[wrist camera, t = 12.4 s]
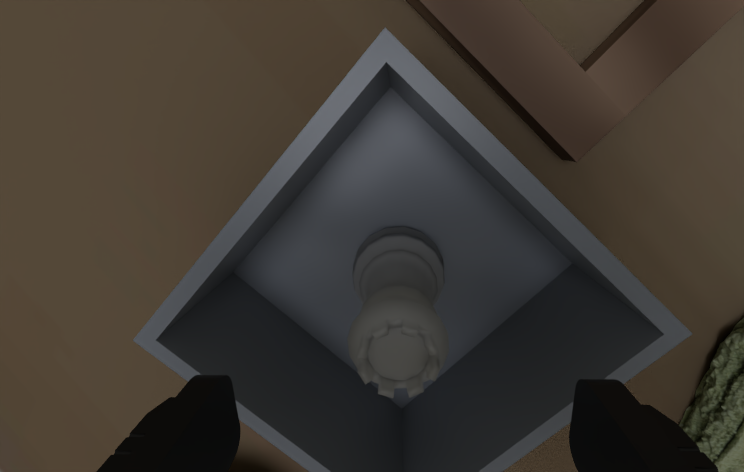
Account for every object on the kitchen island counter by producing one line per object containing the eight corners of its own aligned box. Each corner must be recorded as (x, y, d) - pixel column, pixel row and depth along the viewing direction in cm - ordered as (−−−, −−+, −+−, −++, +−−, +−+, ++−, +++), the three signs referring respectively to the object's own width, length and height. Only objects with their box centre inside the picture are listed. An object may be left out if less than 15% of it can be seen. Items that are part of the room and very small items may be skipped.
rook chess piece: (453, 295, 19) (489, 409, 11) (369, 316, 20) (349, 437, 12) (430, 212, 18) (453, 275, 10) (342, 237, 19) (302, 314, 11)
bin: (389, 67, 17) (385, 27, 10) (585, 259, 19) (692, 334, 12) (221, 268, 20) (132, 340, 13) (402, 414, 22) (404, 542, 15)
